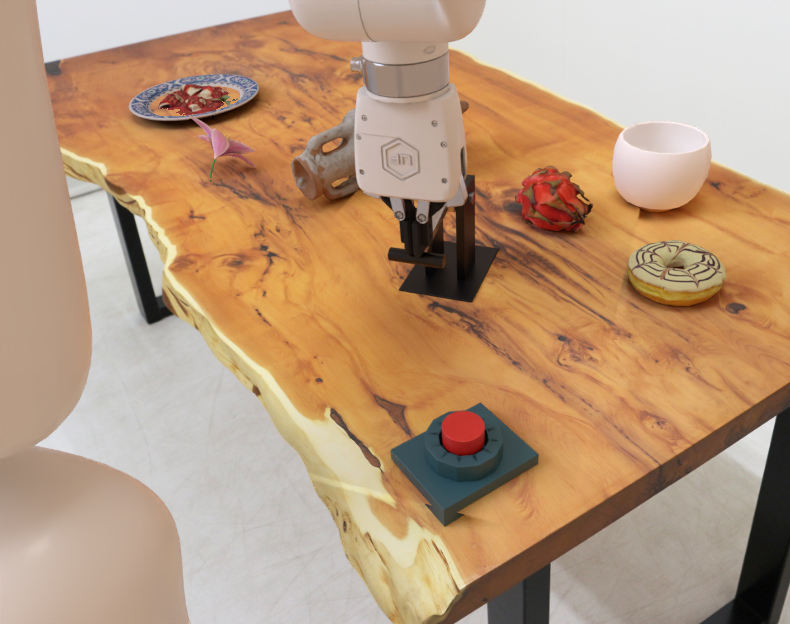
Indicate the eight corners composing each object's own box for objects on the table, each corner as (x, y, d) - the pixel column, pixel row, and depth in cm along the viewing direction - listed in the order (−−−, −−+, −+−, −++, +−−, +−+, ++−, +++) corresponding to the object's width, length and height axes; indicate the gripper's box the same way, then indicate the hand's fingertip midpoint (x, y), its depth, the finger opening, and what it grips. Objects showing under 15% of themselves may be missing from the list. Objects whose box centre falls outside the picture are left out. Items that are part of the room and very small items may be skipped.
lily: (262, 190, 113) (271, 129, 111) (186, 178, 108) (194, 113, 106) (244, 185, 123) (251, 129, 122) (174, 174, 118) (181, 115, 117)
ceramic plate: (104, 120, 141) (99, 105, 139) (193, 79, 159) (190, 65, 157) (201, 137, 130) (198, 122, 128) (286, 91, 147) (283, 77, 146)
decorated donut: (734, 276, 83) (741, 249, 81) (702, 323, 77) (709, 294, 75) (647, 252, 89) (652, 225, 87) (611, 293, 82) (615, 266, 80)
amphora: (497, 81, 106) (313, 90, 91) (492, 188, 112) (319, 213, 97) (444, 77, 117) (272, 84, 103) (442, 175, 123) (280, 195, 108)
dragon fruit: (527, 214, 102) (577, 263, 94) (489, 197, 96) (538, 247, 88) (564, 164, 99) (619, 211, 91) (526, 144, 93) (581, 191, 85)
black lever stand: (472, 309, 82) (471, 210, 74) (399, 297, 85) (391, 200, 77) (498, 256, 91) (500, 162, 83) (431, 246, 94) (427, 155, 86)
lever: (443, 274, 74) (441, 257, 72) (389, 266, 76) (386, 249, 74) (477, 199, 82) (476, 182, 80) (428, 194, 84) (426, 177, 82)
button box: (444, 527, 58) (443, 495, 56) (391, 466, 64) (388, 435, 61) (537, 471, 62) (540, 439, 60) (480, 418, 68) (480, 387, 65)
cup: (637, 175, 106) (646, 112, 100) (717, 199, 98) (732, 132, 93) (590, 206, 99) (596, 140, 94) (672, 234, 92) (685, 165, 86)
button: (459, 462, 59) (458, 448, 58) (433, 437, 61) (433, 422, 60) (493, 443, 60) (493, 429, 59) (467, 419, 63) (467, 404, 62)
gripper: (312, 82, 63) (337, 258, 74) (476, 92, 58) (477, 279, 69) (347, 56, 68) (365, 223, 79) (500, 63, 63) (497, 240, 74)
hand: (417, 249), depth 74 cm, fingers closed
